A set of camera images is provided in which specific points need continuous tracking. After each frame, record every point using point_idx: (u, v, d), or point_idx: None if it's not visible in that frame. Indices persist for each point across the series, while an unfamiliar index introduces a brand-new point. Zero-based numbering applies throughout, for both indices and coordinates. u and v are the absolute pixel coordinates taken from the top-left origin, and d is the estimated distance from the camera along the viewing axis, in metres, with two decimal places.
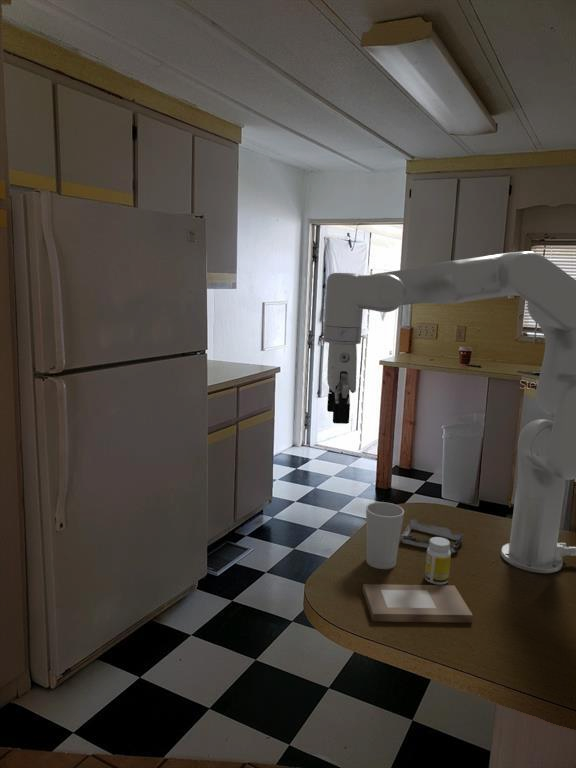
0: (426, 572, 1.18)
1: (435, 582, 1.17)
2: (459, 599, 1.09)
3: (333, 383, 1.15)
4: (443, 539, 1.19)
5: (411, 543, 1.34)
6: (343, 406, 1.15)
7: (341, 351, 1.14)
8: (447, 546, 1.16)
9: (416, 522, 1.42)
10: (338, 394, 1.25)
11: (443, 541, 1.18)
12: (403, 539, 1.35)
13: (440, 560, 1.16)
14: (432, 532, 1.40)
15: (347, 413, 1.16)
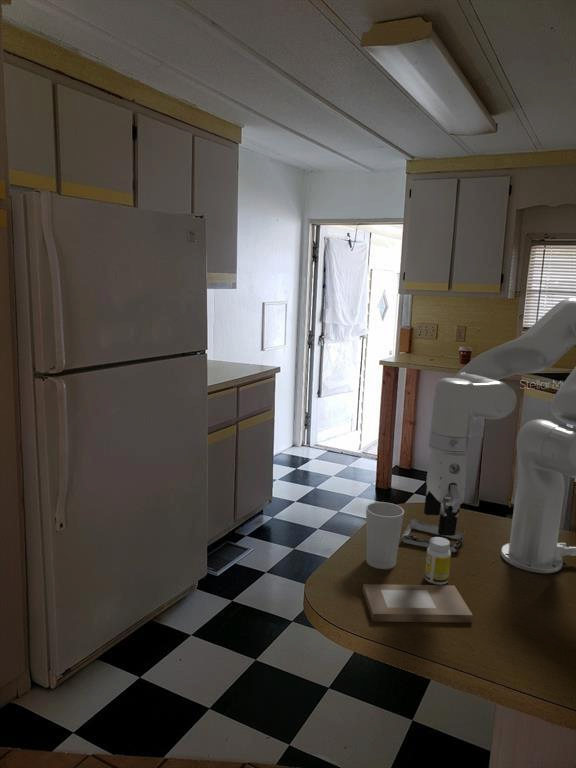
0: (426, 572, 1.18)
1: (435, 582, 1.17)
2: (459, 599, 1.09)
3: (441, 494, 1.11)
4: (443, 539, 1.19)
5: (412, 543, 1.34)
6: (451, 519, 1.10)
7: (451, 462, 1.10)
8: (447, 546, 1.16)
9: (416, 522, 1.42)
10: None
11: (443, 541, 1.18)
12: (404, 539, 1.35)
13: (440, 560, 1.16)
14: (432, 531, 1.41)
15: (454, 525, 1.11)
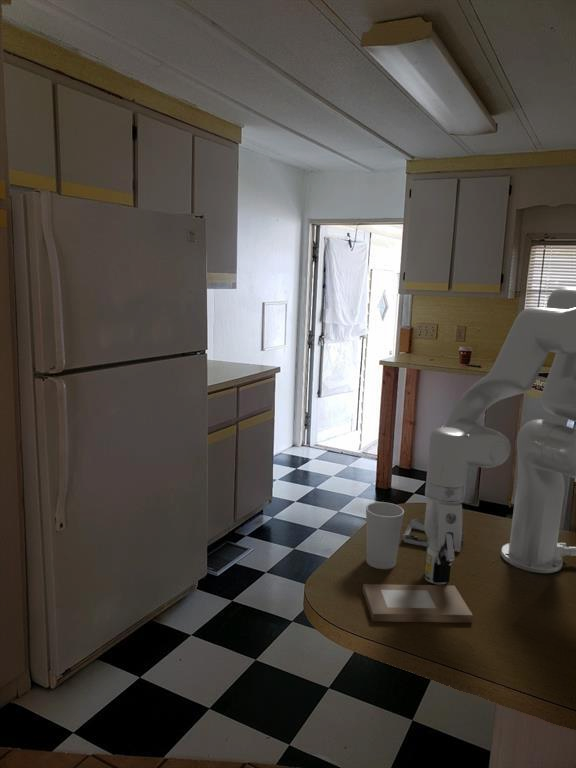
0: (426, 572, 1.18)
1: (435, 582, 1.17)
2: (459, 599, 1.09)
3: (438, 543, 1.13)
4: None
5: (413, 542, 1.35)
6: (445, 567, 1.15)
7: (447, 512, 1.12)
8: None
9: (417, 521, 1.43)
10: None
11: None
12: (405, 538, 1.35)
13: None
14: None
15: (448, 572, 1.16)
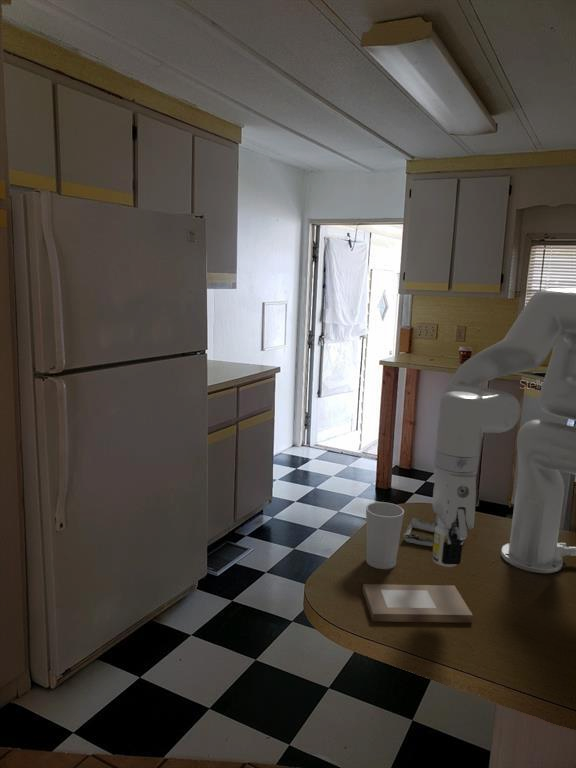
0: (434, 553, 1.07)
1: (444, 564, 1.05)
2: (459, 599, 1.09)
3: (449, 519, 1.01)
4: None
5: (414, 542, 1.35)
6: (456, 546, 1.03)
7: (459, 484, 1.00)
8: None
9: (417, 521, 1.43)
10: None
11: None
12: (406, 538, 1.35)
13: None
14: (433, 530, 1.41)
15: (459, 553, 1.04)
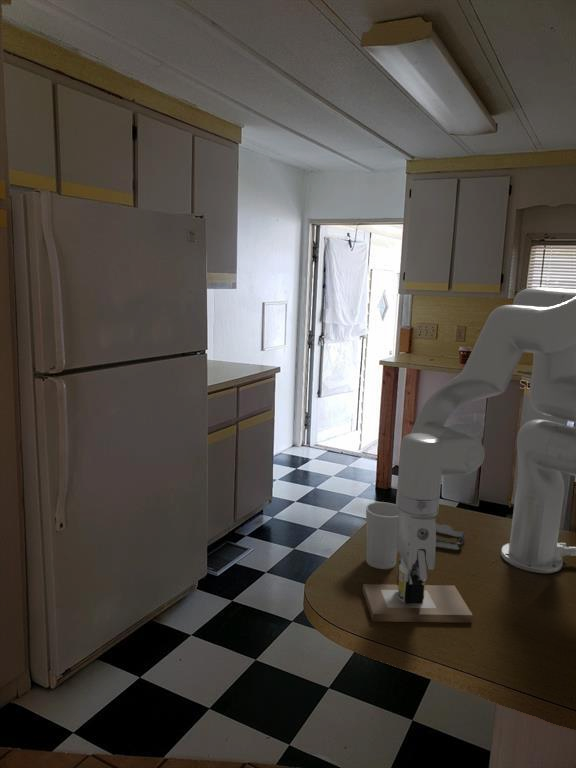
0: (399, 591, 1.08)
1: None
2: (459, 599, 1.09)
3: (409, 561, 1.02)
4: None
5: None
6: (417, 587, 1.04)
7: (419, 527, 1.01)
8: None
9: None
10: None
11: None
12: None
13: None
14: None
15: (421, 593, 1.05)
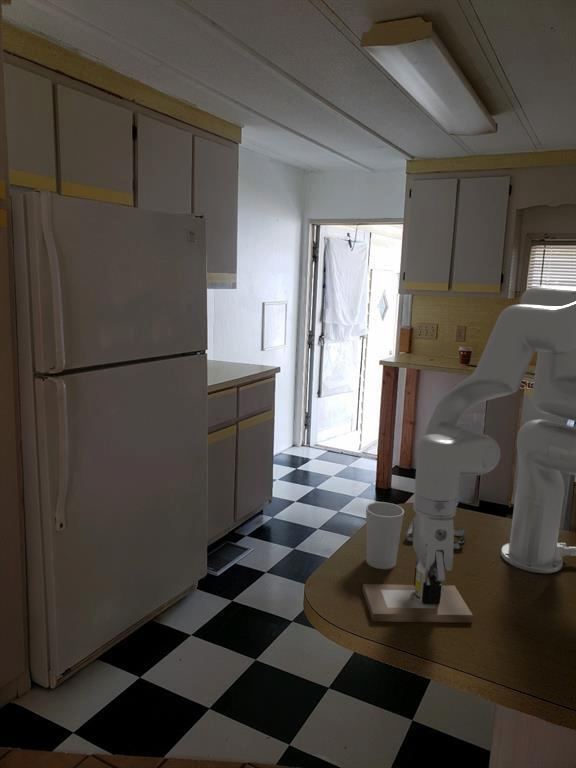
0: (416, 590, 1.08)
1: None
2: (459, 599, 1.09)
3: (427, 562, 1.02)
4: None
5: None
6: (435, 587, 1.05)
7: (437, 528, 1.01)
8: None
9: None
10: None
11: None
12: (408, 537, 1.36)
13: None
14: None
15: (438, 593, 1.06)
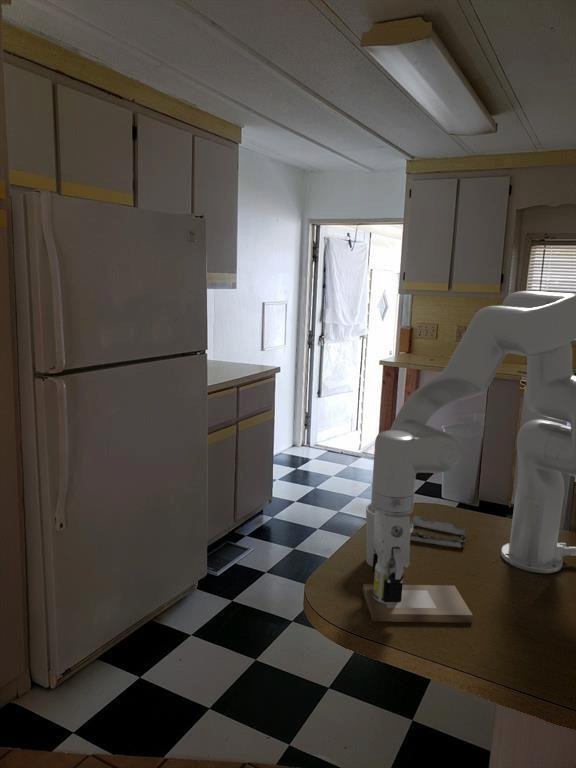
0: (374, 590, 1.08)
1: None
2: (459, 599, 1.09)
3: (384, 559, 1.02)
4: None
5: (418, 540, 1.36)
6: (396, 585, 1.02)
7: (393, 524, 1.01)
8: None
9: (419, 518, 1.44)
10: None
11: None
12: (410, 536, 1.37)
13: None
14: (435, 527, 1.43)
15: (399, 591, 1.03)
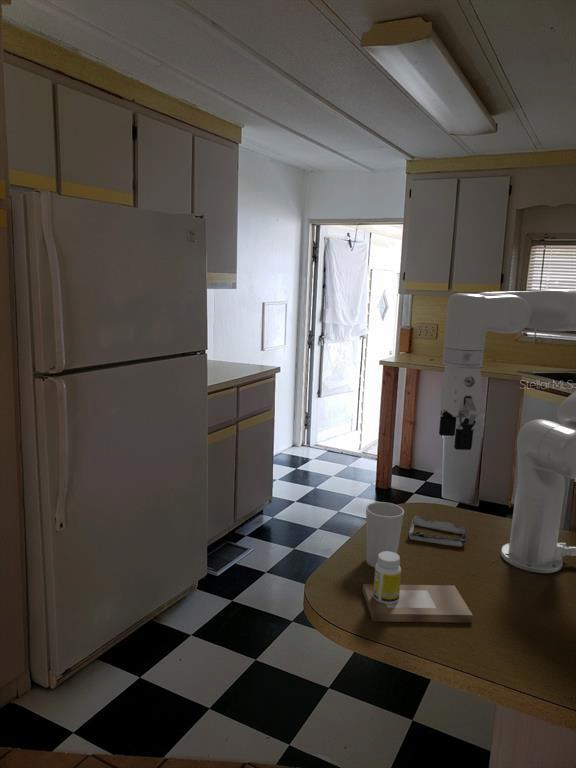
0: (374, 590, 1.08)
1: (384, 601, 1.06)
2: (459, 599, 1.09)
3: (456, 408, 1.11)
4: (393, 554, 1.08)
5: (419, 539, 1.37)
6: (467, 432, 1.11)
7: (466, 375, 1.10)
8: (396, 562, 1.06)
9: (419, 518, 1.45)
10: (451, 417, 1.21)
11: (392, 556, 1.07)
12: (411, 536, 1.37)
13: (388, 577, 1.05)
14: (435, 527, 1.43)
15: (470, 439, 1.12)
